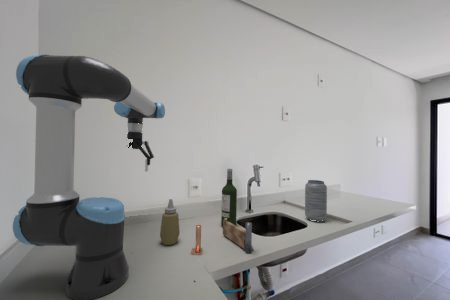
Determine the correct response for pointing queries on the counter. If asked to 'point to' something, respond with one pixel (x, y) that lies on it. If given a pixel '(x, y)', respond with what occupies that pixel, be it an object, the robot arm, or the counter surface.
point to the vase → (316, 200)
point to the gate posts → (247, 248)
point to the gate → (234, 233)
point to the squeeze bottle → (170, 225)
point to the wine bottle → (229, 200)
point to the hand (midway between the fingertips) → (133, 171)
